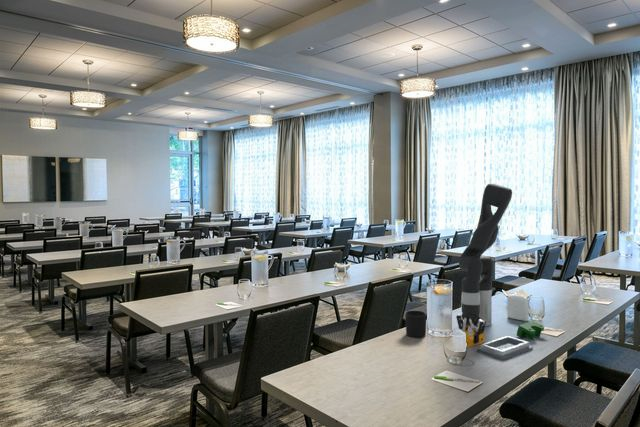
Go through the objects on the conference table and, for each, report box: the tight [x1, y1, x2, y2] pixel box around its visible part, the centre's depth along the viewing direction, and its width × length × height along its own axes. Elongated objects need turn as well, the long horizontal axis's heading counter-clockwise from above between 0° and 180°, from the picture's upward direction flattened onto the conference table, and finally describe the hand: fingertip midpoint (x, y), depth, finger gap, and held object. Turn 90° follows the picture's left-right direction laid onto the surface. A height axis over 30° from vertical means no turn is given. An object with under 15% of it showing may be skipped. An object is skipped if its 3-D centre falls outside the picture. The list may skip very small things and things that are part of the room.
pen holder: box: [404, 310, 427, 339], centre depth 208 cm, size 9×9×10 cm
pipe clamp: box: [461, 330, 485, 348], centre depth 195 cm, size 12×4×6 cm, turn 122°
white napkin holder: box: [506, 294, 530, 322], centre depth 230 cm, size 10×4×12 cm, turn 39°
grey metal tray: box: [476, 335, 534, 361], centre depth 186 cm, size 12×20×3 cm, turn 124°
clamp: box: [516, 320, 545, 341], centre depth 203 cm, size 12×6×9 cm, turn 117°
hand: (471, 341), depth 195 cm, fingers closed on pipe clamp, 4 cm apart
